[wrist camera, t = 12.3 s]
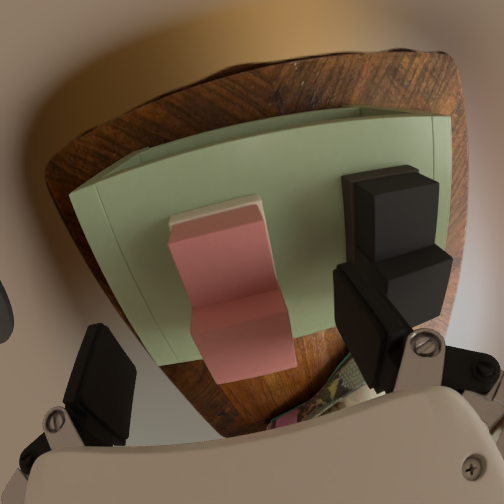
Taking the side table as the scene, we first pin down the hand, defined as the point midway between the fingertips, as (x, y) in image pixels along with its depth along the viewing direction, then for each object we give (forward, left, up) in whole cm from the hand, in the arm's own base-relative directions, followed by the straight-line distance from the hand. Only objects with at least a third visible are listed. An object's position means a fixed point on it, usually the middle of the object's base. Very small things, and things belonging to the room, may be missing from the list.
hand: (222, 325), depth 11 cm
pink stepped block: (+1, 0, -4) cm, 4 cm away
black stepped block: (+9, 0, -4) cm, 9 cm away
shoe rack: (+4, 0, -16) cm, 16 cm away
